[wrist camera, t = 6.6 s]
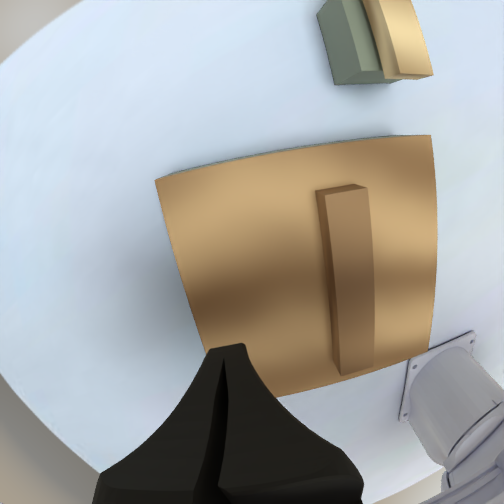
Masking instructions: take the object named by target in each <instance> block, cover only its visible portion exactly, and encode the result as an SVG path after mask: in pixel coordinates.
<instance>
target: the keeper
mask: <svg viewBox="0 0 504 504" xmlns="http://www.w3.org/2000/svg"><path fill="white" fill-rule="evenodd" d="M317 18H318V21H319V25H320V28H321V32H322V35H323V39H324V43H325V47H326V50H327V54H328V58H329V62H330V66H331V71H332V75H333V79H334V84H335V85H346V84H373V83H393V82H396V81H399V80H402V79H385V77H384V72H383V68H382V64H381V60H380V56H379V53H378V49H377V45H376V42H375V38H374V35H373V31H372V28H371V25H370V22H369V18H368V15H367V12H366V9H365V6H364V4H363V1H362V0H327V1H326V3H325V4H324V5H323V7H322V8H321V10H320V11H319V12H318V14H317Z"/></svg>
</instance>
